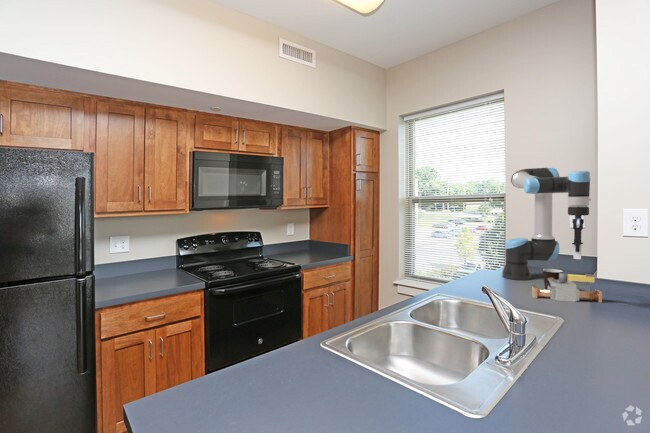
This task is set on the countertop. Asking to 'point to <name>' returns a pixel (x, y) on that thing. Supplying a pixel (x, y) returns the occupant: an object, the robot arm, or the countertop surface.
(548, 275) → the coffee mug
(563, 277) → the lever
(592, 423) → the countertop surface
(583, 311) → the countertop surface
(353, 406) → the countertop surface
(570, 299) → the valve body
